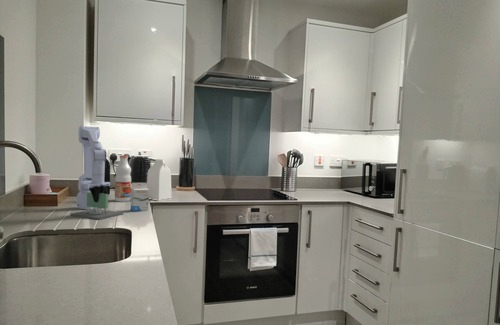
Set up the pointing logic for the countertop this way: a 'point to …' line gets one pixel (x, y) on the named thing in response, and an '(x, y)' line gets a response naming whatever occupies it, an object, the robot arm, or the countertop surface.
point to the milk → (159, 181)
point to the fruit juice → (123, 181)
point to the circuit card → (101, 202)
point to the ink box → (139, 197)
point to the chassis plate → (96, 214)
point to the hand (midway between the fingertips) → (97, 201)
